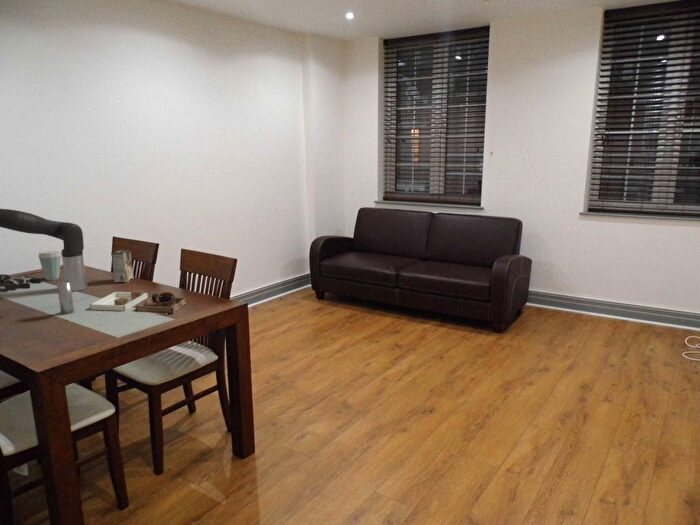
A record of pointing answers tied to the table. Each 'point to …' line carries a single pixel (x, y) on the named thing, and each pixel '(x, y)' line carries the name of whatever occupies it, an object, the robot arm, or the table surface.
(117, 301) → the walnut block
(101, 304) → the tray
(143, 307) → the brown wooden tray
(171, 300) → the pottery mug
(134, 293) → the walnut block
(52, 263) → the disposable coffee cup
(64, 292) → the part cylinder
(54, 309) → the table surface
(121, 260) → the coffee box
